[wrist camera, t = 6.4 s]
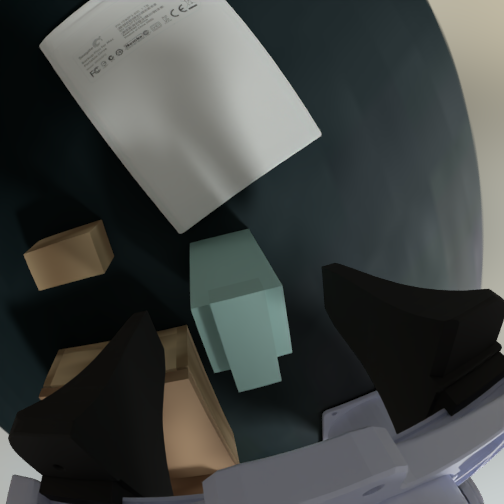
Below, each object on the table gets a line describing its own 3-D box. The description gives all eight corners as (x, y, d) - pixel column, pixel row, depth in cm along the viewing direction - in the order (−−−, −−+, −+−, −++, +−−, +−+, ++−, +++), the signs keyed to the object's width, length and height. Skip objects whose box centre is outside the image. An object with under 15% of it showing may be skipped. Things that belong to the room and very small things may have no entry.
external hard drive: (180, 226, 15) (48, 51, 10) (312, 133, 14) (178, -39, 9) (179, 237, 13) (35, 44, 8) (324, 134, 13) (178, -54, 8)
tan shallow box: (148, 205, 14) (135, 226, 10) (233, 434, 21) (240, 467, 18) (9, 251, 13) (-21, 277, 10) (134, 448, 20) (132, 479, 17)
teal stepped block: (246, 219, 15) (287, 284, 9) (260, 288, 16) (299, 375, 10) (187, 233, 14) (186, 309, 8) (206, 301, 16) (220, 396, 10)
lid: (188, 368, 13) (190, 412, 11) (240, 469, 18) (247, 498, 15) (42, 388, 12) (28, 423, 10) (132, 481, 17) (132, 508, 15)
